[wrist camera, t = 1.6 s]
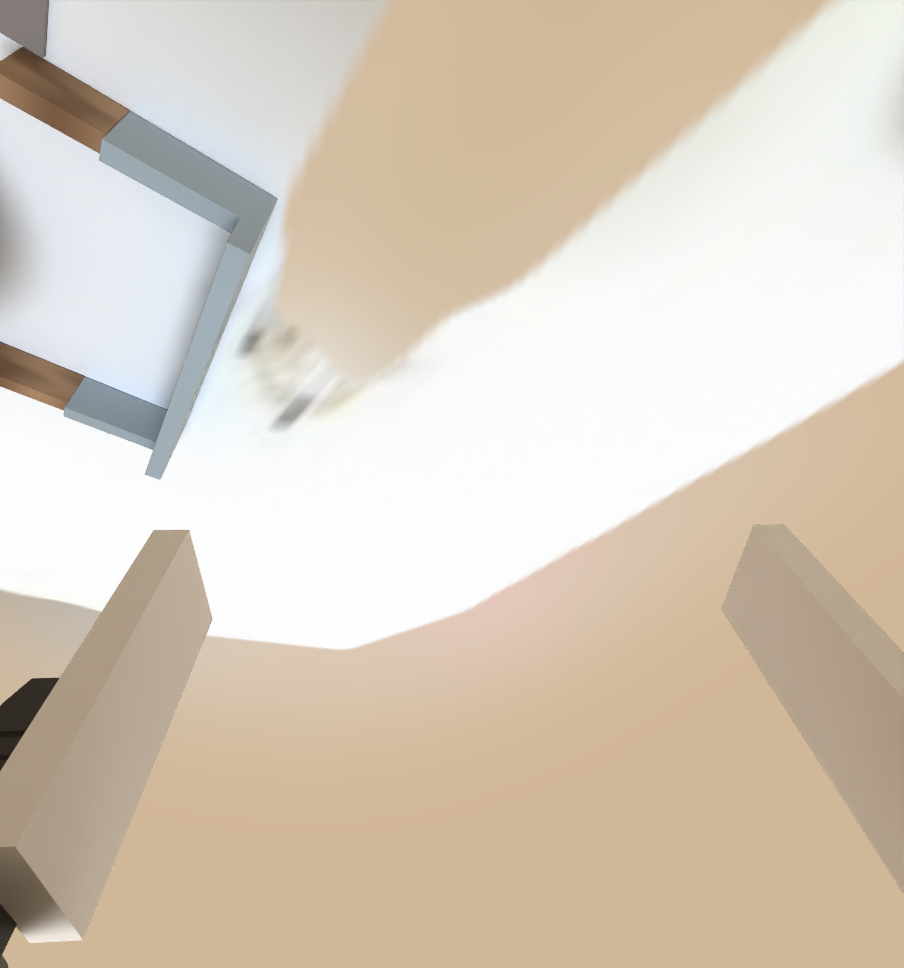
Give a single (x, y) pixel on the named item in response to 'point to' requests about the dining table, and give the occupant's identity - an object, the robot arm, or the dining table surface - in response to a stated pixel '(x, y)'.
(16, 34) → the mat
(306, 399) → the dining table surface
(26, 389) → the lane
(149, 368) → the dining table surface
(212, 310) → the pocket
